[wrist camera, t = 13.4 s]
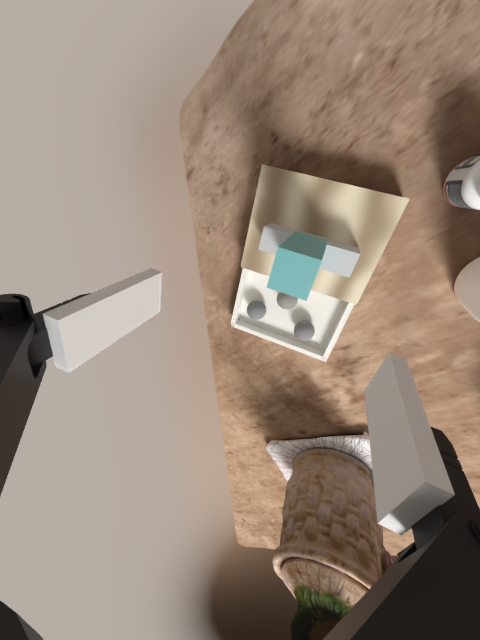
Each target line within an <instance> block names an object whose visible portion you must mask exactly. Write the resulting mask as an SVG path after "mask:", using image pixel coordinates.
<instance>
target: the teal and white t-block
mask: <svg viewBox="0 0 480 640" xmlns="http://www.w3.org/2000/svg"><path fill="white" fill-rule="evenodd" d="M258 250H261V251H264V252H268V253H271V254H274V255H276V256H275V259H274V263H273V266H272V270H271V273H270V277H269V281H268V284H267V288H269V289H272V290H275V291H278V292H281V293H284V294H287V295H290V296H293V297H296V298H299V299H302V300H305V301H307V298H308V296H309V293H310V291H311V288H312V285H313V283H314V280H315V278H316V275H317V272H318V270H319V269H323V270H326V271H329V272H332V273H336V274H339V275H342V276H345V277H349V278H350V276H351V274H352V271H353V269H354V267H355V265H356V263H357V261H358V258H359V256H360V250H359V247H356V246H352V245H349V244H345V243H341V242H338V241H334V240H331V239H327V238H324V237H320V236H317V235H313V234H310V233H306V232H303V231H299V230H295V229H292V228H288V227H285V226H281V225H278V224H274V223H270V224H268V225H266V226H264V228H263V232H262V236H261V240H260V245H259V249H258Z"/></svg>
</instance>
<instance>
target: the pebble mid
mask: <svg viewBox="0 0 480 640" xmlns="http://www.w3.org/2000/svg"><path fill="white" fill-rule="evenodd" d="M297 302H298V298H296V297H293V296H290V295H287V294H284V293H281V292H279V293H278V295H277V303H278V305H279V306H280V307H281V308H283V309H291V308H293V307H295V305H296V304H297Z"/></svg>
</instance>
